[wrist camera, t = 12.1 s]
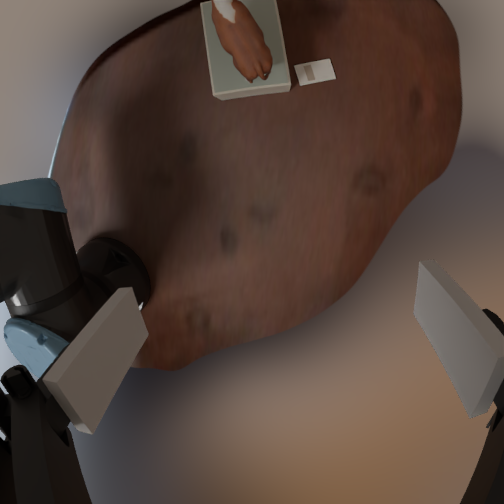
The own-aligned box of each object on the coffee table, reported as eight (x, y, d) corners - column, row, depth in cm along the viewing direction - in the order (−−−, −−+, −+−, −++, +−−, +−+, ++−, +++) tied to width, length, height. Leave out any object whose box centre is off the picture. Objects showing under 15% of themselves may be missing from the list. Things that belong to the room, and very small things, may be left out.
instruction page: (300, 85, 36) (300, 85, 36) (293, 65, 35) (293, 65, 35) (335, 78, 35) (336, 78, 35) (329, 59, 34) (329, 58, 34)
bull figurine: (244, -9, 26) (234, -40, 19) (279, 84, 31) (279, 70, 23) (209, 2, 27) (191, -26, 20) (242, 95, 32) (231, 84, 24)
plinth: (222, 100, 38) (212, 95, 32) (210, 18, 33) (199, 2, 27) (289, 91, 37) (291, 84, 31) (275, 8, 32) (274, -10, 26)
